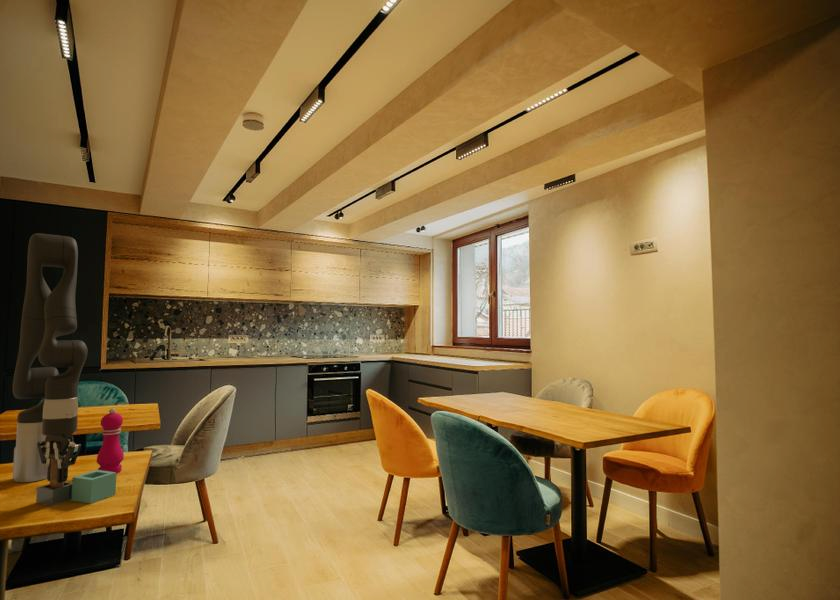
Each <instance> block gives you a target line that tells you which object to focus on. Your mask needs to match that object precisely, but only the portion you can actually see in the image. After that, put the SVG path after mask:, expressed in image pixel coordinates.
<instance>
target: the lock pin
mask: <svg viewBox="0 0 840 600" xmlns="http://www.w3.org/2000/svg"><path fill="white" fill-rule="evenodd" d="M66 454H67V453H65V454H60V455H61V456H63V455H66ZM49 458H51V471H50V481H49V484H50V488H52V489H55V488H59V487H62V486H64V482H62V483H57V469H58V463H57V460H56V459H55V453H50V454H49ZM64 459H65V458H63V459H62V462H64Z"/></svg>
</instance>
